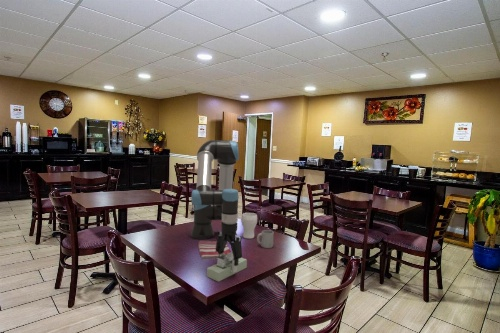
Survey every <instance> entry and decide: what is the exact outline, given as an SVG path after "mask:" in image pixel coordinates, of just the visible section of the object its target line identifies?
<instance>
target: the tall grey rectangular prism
mask: <svg viewBox="0 0 500 333" xmlns="http://www.w3.org/2000/svg"><path fill="white" fill-rule="evenodd" d="M232 259H234V257H233V253H232V251H231V252H230V253H228V254H225V255H223V256H220V257H218V258H217V259H216V260H217V263H216V264H217V267H219V268H222V269H225V268H226V263H227V262H232Z"/></svg>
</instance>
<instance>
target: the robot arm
mask: <svg viewBox="0 0 500 333" xmlns="http://www.w3.org/2000/svg"><path fill="white" fill-rule="evenodd" d="M239 153H240V152H239V143H238V142H237V141H235V140H222V139H221V140H219V139H218V140H217V139H216V140H215V139H212V140H211V139H210V140H208V141H206V142H204V143H203V144H201V145H200V147H199V149H198V150H197V153H196V159H197V161H198V163H197V172H196V173H197V175H196V176H197V177H196V189H193V190H192V191H191V204H192V205H193V206H194V208H193V212H194V213H193V226H192V229H191V231H190V237H191V238H192V239H196V240H208V239H211V238H214V237H215V231H214V227H213V224H212V223H213V221H221V225H220V231H217V232H216V234H217V235H216V236H217V237H216V241H217V243H216V252H218V253H219V257H220V256H223V255H225V253H223V252H224V249H225V246H226V244H227V243H229V245H230V248H231V249H230V250H231V252H232V253H233V257H234V259H232V273H234V272H236V271H237V265H238V259H240V258H243V248H242V239H243V238H242V237H243V236H239V235H238V234H237V231H238V222H239V221H238V219H239V218H238V217H239V216H238V215H239V214H238V213H239V212H238V211H239V210H238V209H239V196H240V195H239V191H238V190H237V189H234V188H233V182H234V181H233V180H234V166H235V165H236V164H237V161H239V159H240V154H239ZM214 160H216V161H217V164H219V177H218V190H217V189H215V190H214V189H212V165H213V164H212V162H213V161H214Z"/></svg>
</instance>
